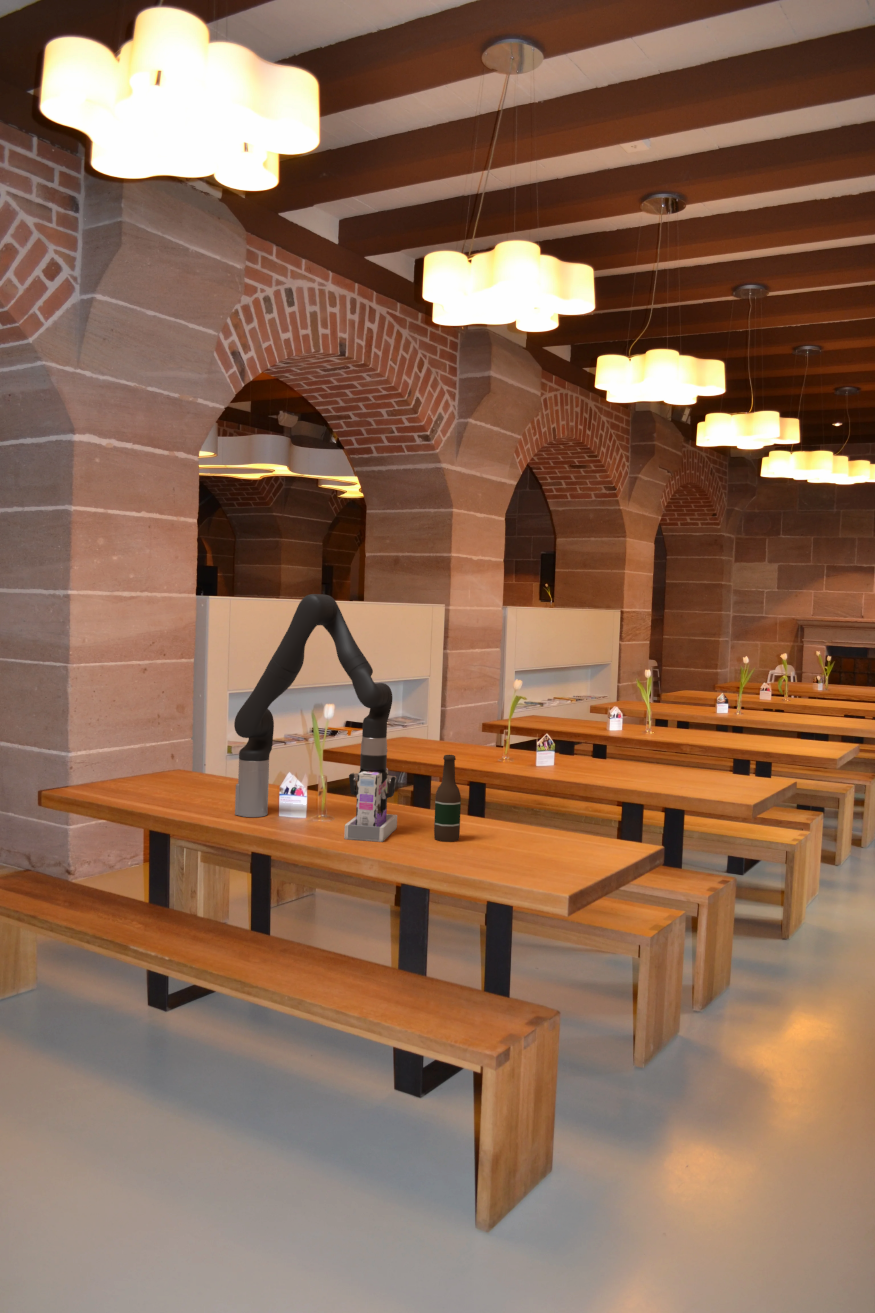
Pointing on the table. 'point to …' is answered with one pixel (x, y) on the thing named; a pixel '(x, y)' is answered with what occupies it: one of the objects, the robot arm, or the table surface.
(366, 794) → the candy box
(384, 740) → the robot arm
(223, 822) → the table surface
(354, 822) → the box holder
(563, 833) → the table surface
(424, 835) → the table surface
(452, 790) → the beer bottle
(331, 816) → the table surface
